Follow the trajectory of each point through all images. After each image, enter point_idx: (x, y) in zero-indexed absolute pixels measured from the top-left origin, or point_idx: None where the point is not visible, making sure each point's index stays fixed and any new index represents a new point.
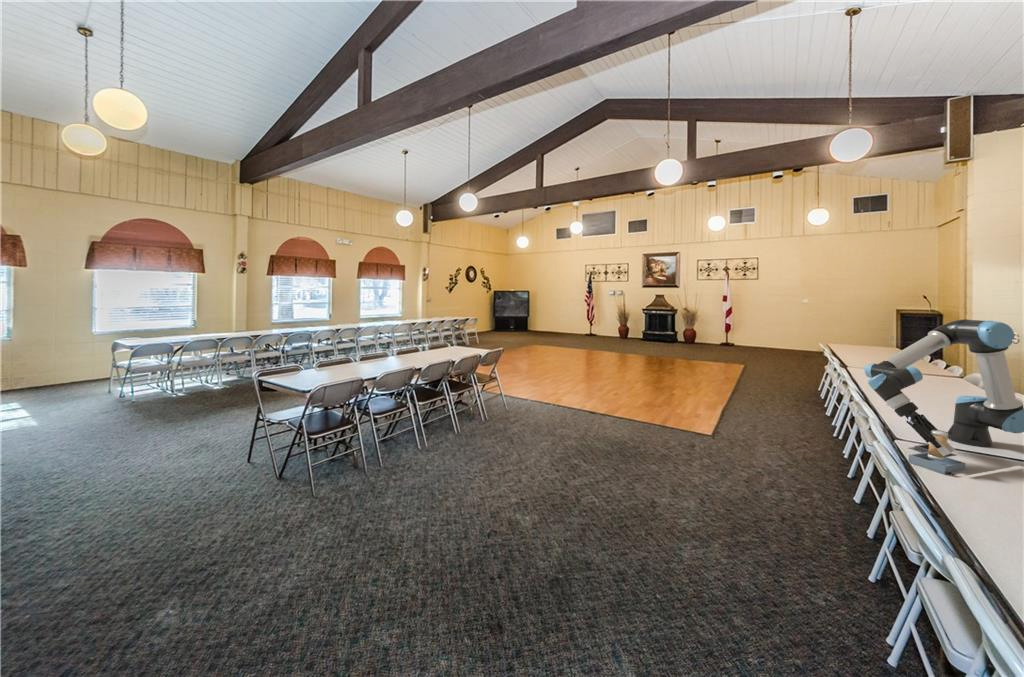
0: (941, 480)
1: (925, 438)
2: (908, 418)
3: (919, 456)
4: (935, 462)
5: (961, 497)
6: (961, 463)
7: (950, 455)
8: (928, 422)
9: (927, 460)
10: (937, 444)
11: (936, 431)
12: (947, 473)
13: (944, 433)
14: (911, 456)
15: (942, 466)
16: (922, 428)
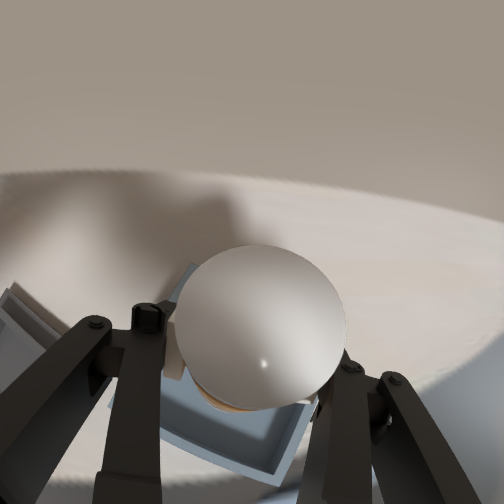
0: (396, 341)
1: (388, 421)
2: None
3: (204, 446)
4: (192, 380)
5: (469, 286)
6: None
7: (24, 312)
8: (26, 433)
9: (311, 404)
10: (344, 349)
11: (295, 349)
12: None
13: (313, 274)
14: (282, 474)
15: None
16: (443, 457)
